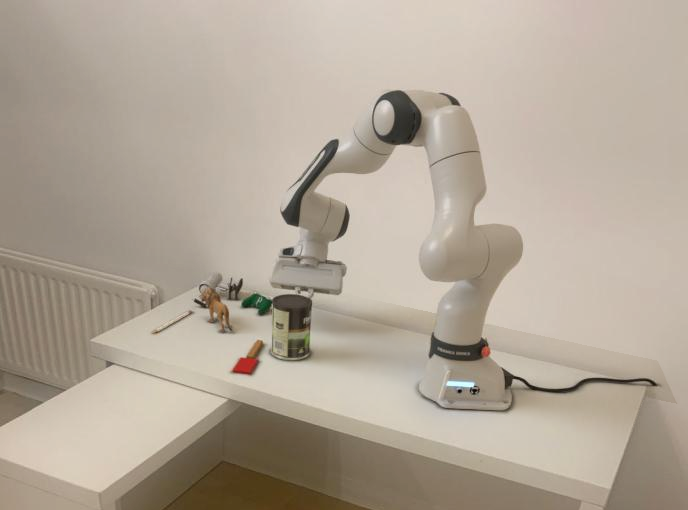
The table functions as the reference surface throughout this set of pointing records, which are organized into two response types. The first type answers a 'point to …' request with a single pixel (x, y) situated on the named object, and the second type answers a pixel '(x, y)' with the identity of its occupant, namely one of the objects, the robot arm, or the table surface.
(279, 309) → the coffee can
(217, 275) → the clip-on lamp
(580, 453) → the table surface
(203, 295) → the lion figurine
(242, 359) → the spatula
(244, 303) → the gaming controller
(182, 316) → the pencil
